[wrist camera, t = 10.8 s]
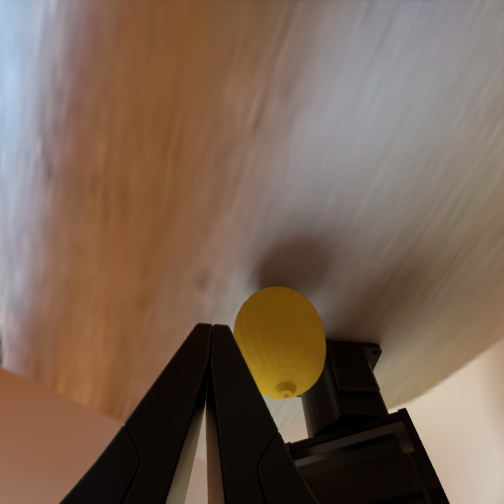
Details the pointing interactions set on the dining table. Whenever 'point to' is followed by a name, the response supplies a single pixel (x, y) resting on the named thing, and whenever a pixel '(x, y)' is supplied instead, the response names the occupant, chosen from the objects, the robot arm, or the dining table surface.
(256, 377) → the lemon
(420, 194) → the dining table surface
